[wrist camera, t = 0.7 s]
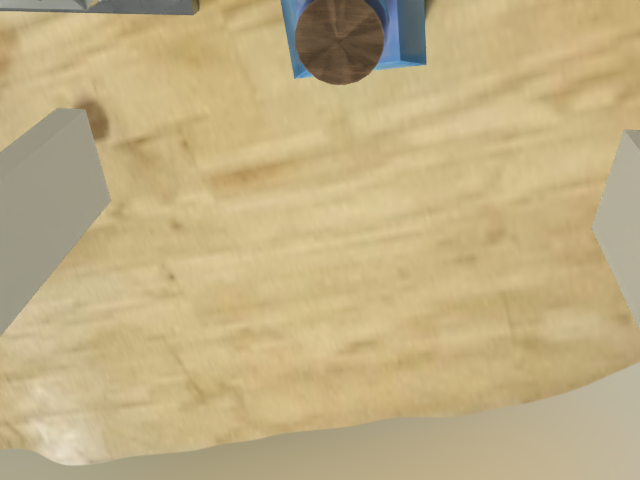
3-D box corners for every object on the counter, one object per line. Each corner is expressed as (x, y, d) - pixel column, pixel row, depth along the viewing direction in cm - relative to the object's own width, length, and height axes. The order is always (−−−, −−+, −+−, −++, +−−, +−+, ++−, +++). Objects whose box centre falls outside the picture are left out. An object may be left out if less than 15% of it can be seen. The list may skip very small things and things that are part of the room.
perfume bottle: (311, 40, 31) (271, 130, 22) (292, -85, 28) (234, -44, 18) (422, 27, 30) (431, 116, 21) (417, -105, 27) (425, -72, 17)
